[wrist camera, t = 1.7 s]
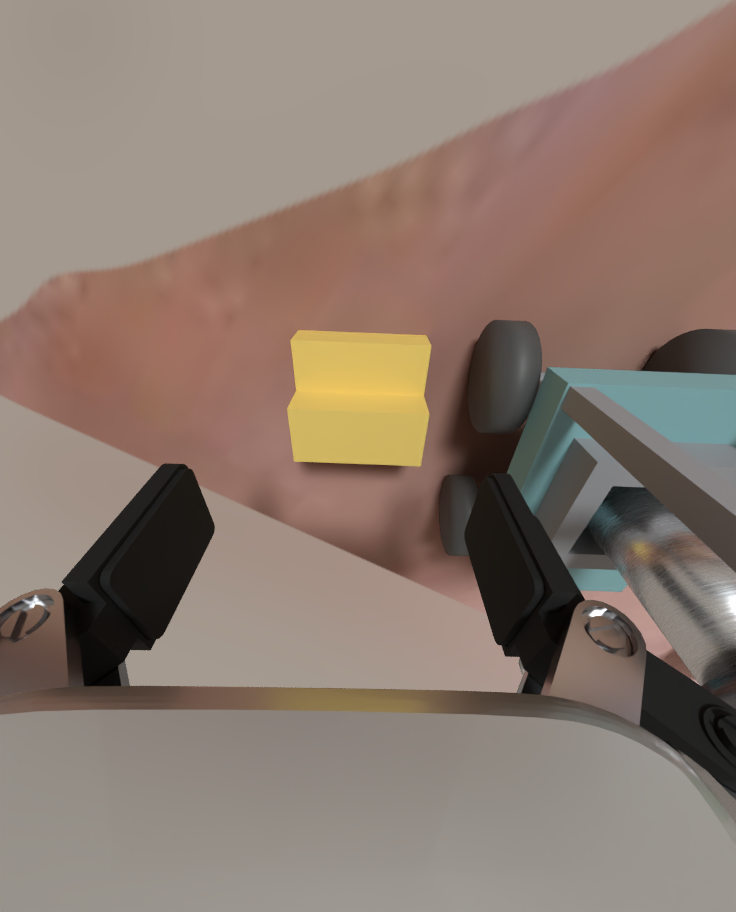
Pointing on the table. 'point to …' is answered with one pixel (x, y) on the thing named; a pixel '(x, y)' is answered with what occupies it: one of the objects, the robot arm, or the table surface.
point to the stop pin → (674, 583)
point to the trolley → (606, 441)
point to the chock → (359, 398)
